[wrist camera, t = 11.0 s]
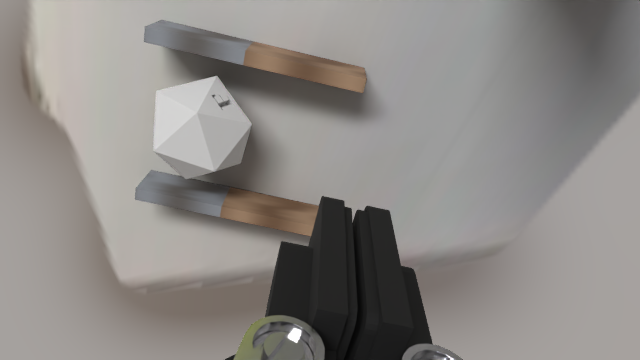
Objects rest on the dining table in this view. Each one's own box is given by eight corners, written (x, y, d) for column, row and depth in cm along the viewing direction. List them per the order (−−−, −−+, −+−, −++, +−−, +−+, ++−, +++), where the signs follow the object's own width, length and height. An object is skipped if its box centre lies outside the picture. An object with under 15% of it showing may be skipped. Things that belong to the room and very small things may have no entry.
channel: (364, 67, 41) (366, 79, 38) (323, 217, 48) (322, 238, 45) (161, 19, 40) (144, 26, 37) (150, 180, 47) (135, 199, 43)
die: (265, 151, 46) (273, 125, 37) (190, 202, 44) (179, 187, 35) (216, 85, 46) (213, 41, 37) (140, 132, 44) (115, 99, 35)
